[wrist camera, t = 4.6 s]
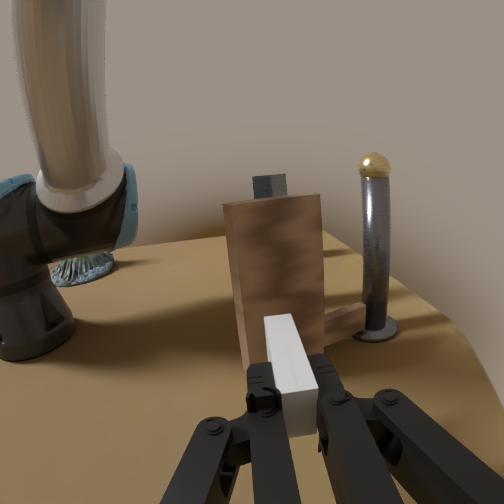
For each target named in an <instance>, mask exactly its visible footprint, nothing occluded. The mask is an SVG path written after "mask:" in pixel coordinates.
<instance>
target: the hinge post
mask: <svg viewBox="0 0 504 504" xmlns="http://www.w3.org/2000/svg"><path fill="white" fill-rule="evenodd" d="M358 170H359V174H360V176H361V189H362V212H363V292H362V303H363V304H365V305H366V318H365V329H364V330H362V331H360V332H358V333H356V334H353V335H351V336H352V337H354V338H356V339H358V340H360V341H364V342H371V343H376V342H383V341H387V340H389V339H391V338H393V337H394V336H395V335H396V333H397V329H398V324H397V322H396V321H395V320H394V319H393V318H391V317H390V316H387V304H388V291H389V272H390V188H389V175H390V164H389V162H388V160H387V159H386V158H385V157H384V156H383V155H381V154H379V153H375V152H373V153H368V154H366V155H364V156H363V157H362V158H361V160H360V162H359V165H358Z"/></svg>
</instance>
